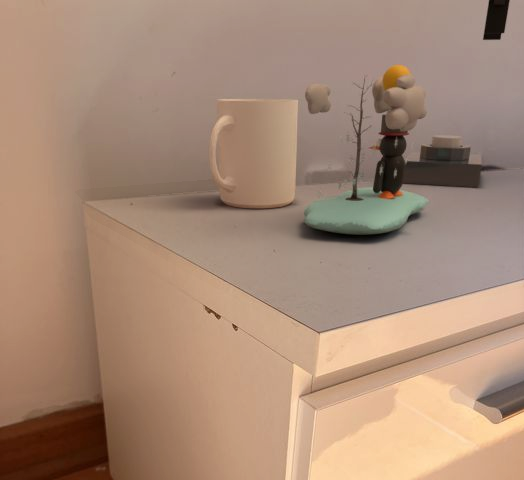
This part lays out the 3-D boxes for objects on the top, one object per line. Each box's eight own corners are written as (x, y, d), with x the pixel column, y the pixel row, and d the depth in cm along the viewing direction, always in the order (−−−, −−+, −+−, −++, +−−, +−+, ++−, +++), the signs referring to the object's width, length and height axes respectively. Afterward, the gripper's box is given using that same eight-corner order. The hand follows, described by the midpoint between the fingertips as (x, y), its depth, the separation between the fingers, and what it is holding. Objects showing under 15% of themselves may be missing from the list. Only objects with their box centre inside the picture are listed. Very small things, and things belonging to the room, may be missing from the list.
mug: (307, 199, 73) (311, 100, 68) (261, 216, 63) (262, 102, 58) (244, 192, 77) (243, 98, 72) (192, 207, 68) (187, 100, 63)
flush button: (460, 147, 89) (462, 135, 88) (460, 150, 85) (461, 138, 85) (431, 146, 90) (433, 134, 90) (429, 149, 87) (431, 137, 86)
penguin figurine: (355, 201, 72) (366, 67, 65) (440, 211, 67) (461, 67, 60) (278, 233, 56) (282, 61, 50) (381, 249, 51) (400, 60, 45)
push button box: (478, 175, 94) (483, 143, 92) (478, 187, 83) (484, 151, 81) (410, 171, 97) (413, 140, 95) (401, 183, 86) (405, 148, 84)
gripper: (489, -110, 90) (467, 42, 99) (494, -170, 69) (466, 30, 78) (541, -114, 88) (514, 41, 97) (562, -178, 67) (525, 29, 76)
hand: (492, 37), depth 88 cm, fingers open, 13 cm apart
